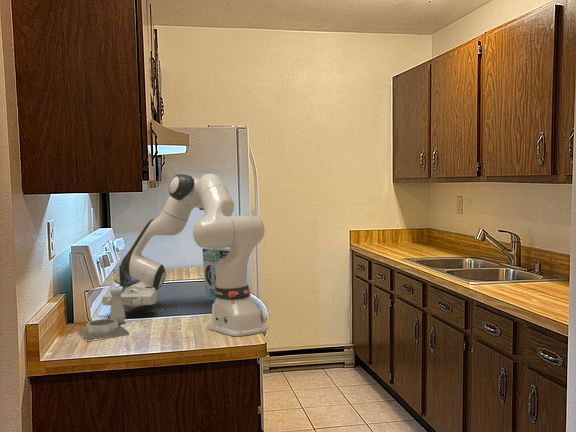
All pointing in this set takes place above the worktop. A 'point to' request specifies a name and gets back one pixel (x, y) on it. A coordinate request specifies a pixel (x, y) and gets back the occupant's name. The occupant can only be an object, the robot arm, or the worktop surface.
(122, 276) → the small box
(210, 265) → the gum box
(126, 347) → the worktop surface
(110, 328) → the duct flange
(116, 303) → the salt shaker
